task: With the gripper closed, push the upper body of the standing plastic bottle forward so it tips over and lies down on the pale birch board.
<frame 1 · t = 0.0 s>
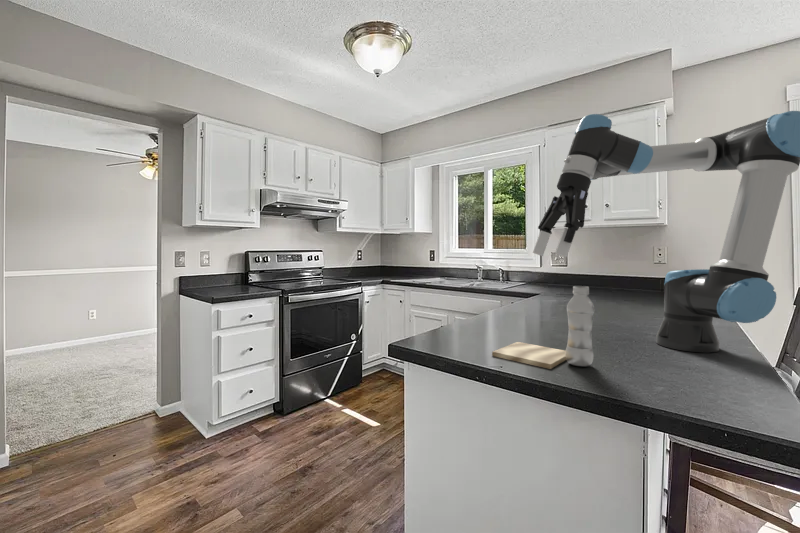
hand: (548, 255, 96), 28 cm above the counter, tool tilted 20°, fingers open, 13 cm apart
plastic bottle: (578, 366, 94), on the counter
birch board: (532, 356, 102), on the counter
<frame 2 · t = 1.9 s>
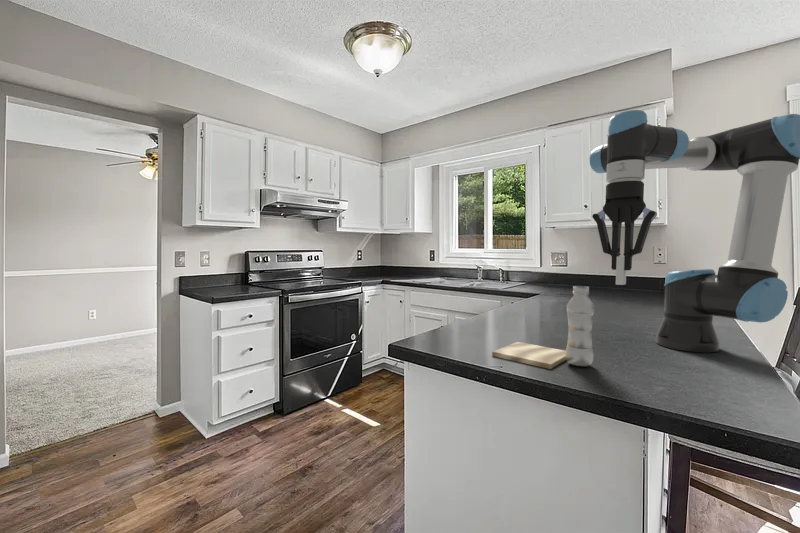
hand: (620, 284, 86), 21 cm above the counter, tool pointing down, fingers closed
nothing on the counter moved.
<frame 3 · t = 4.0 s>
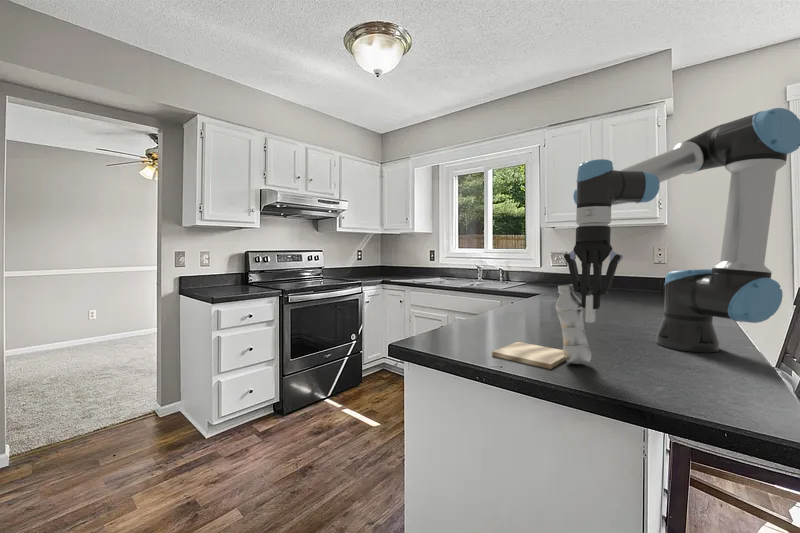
hand: (590, 321, 91), 12 cm above the counter, tool pointing down, fingers closed
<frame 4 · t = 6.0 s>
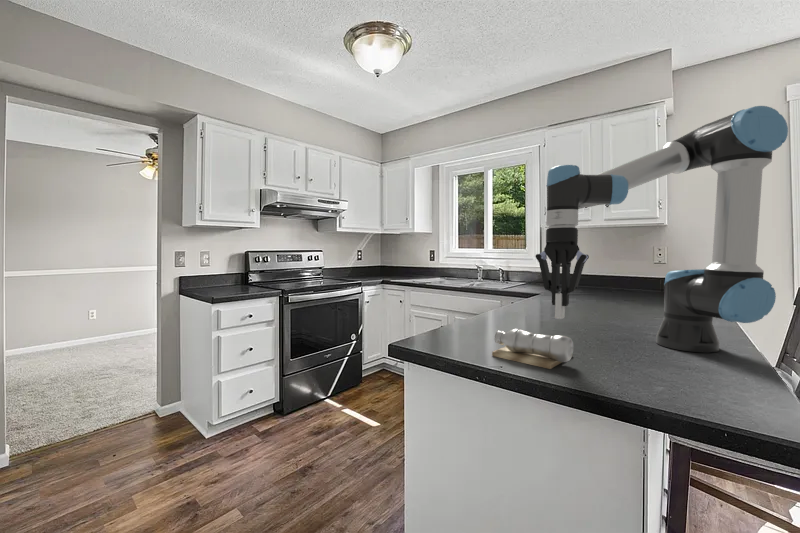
hand: (559, 318, 97), 11 cm above the counter, tool pointing down, fingers closed
plastic bottle: (573, 350, 92), point 4 cm above the counter, touching birch board
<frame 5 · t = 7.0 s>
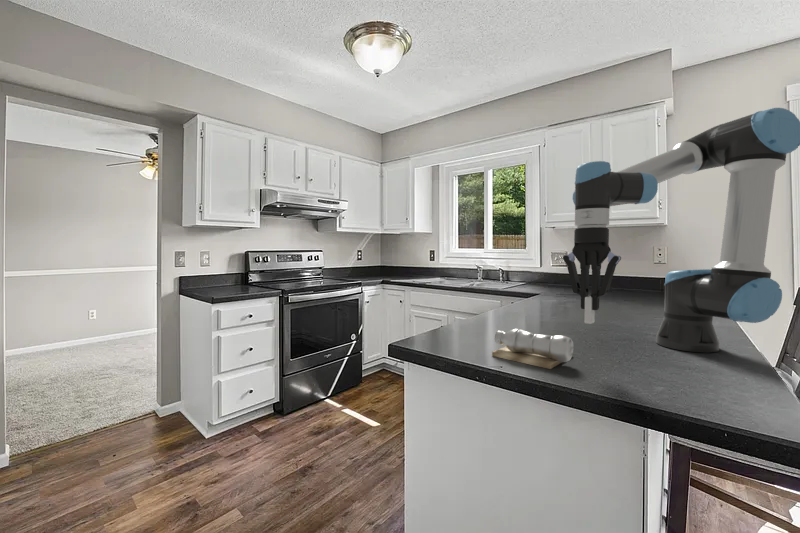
hand: (589, 322, 92), 11 cm above the counter, tool pointing down, fingers closed
nothing on the counter moved.
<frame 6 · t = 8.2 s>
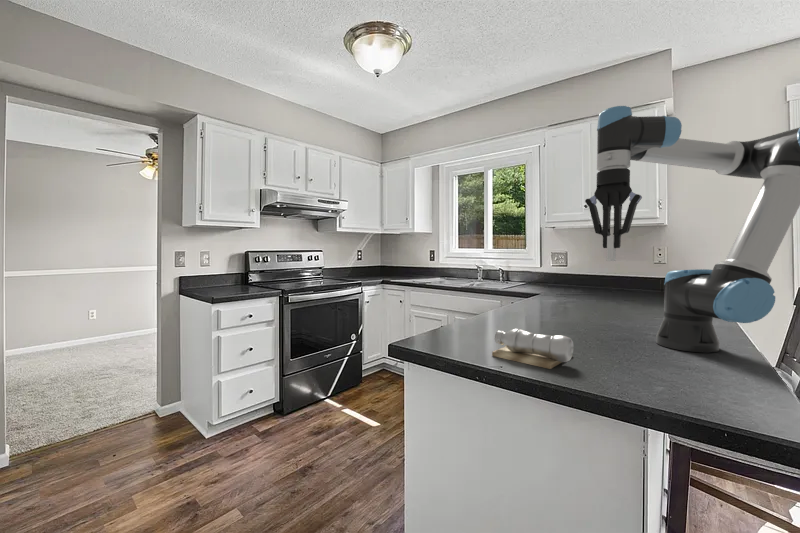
hand: (611, 260, 97), 26 cm above the counter, tool pointing down, fingers closed
nothing on the counter moved.
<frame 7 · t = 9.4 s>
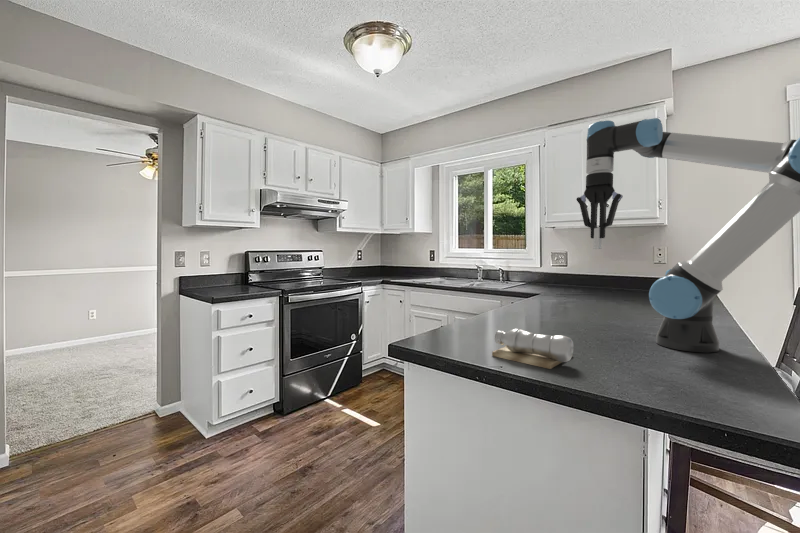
hand: (597, 248, 117), 29 cm above the counter, tool pointing down, fingers closed
nothing on the counter moved.
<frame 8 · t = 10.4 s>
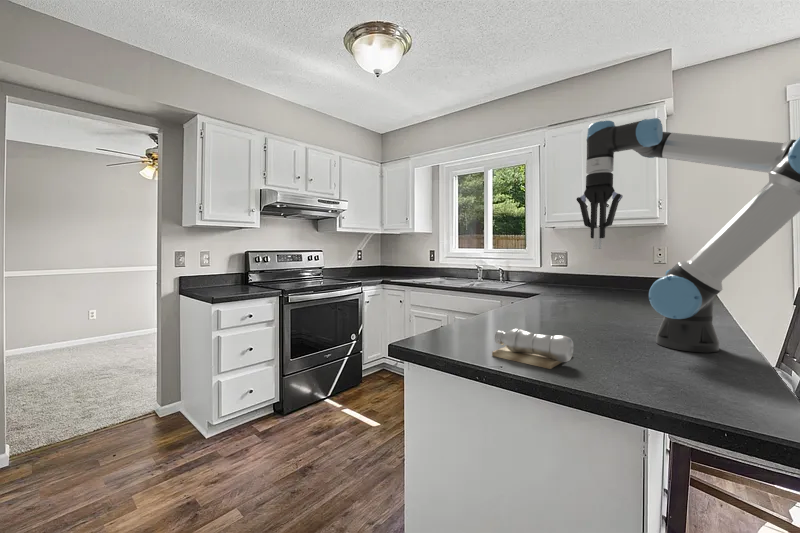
hand: (597, 248, 117), 29 cm above the counter, tool pointing down, fingers closed
nothing on the counter moved.
at the end: plastic bottle tilted 89°; plastic bottle inside the target area (14.2 cm from its centre), point 4.3 cm above the counter; the gripper is holding nothing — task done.
